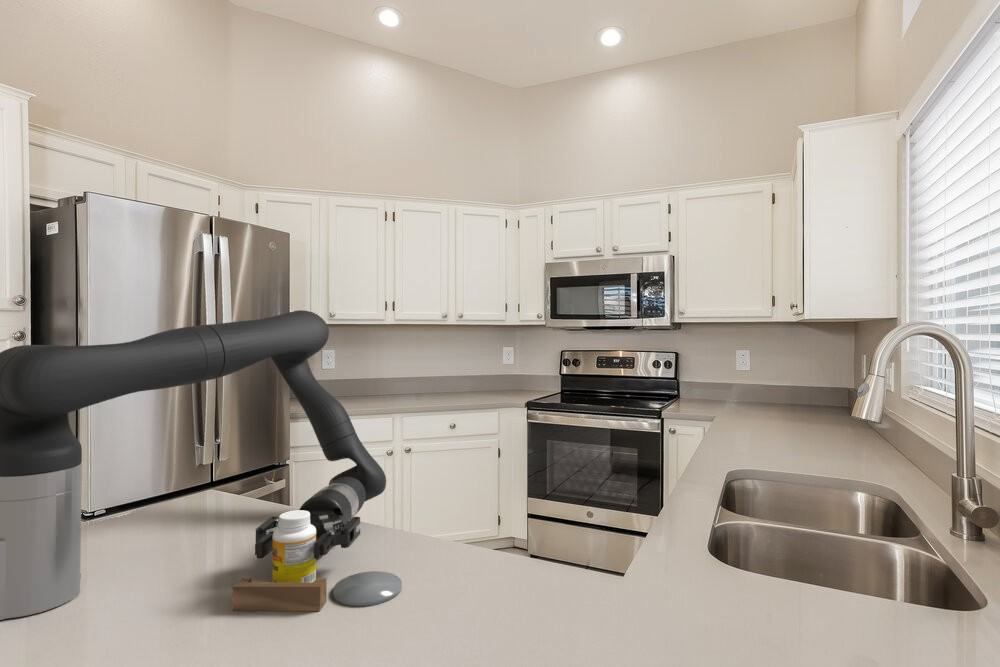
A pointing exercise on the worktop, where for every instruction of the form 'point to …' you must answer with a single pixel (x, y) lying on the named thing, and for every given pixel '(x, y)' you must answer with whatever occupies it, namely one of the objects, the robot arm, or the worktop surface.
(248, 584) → the cradle
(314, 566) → the supplement bottle
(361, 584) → the smooth stone
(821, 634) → the worktop surface
